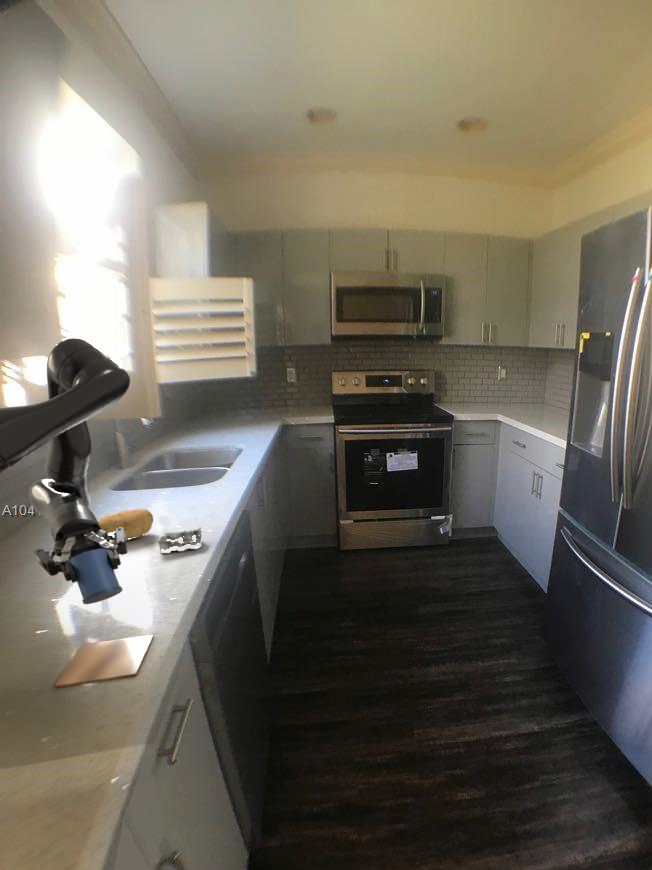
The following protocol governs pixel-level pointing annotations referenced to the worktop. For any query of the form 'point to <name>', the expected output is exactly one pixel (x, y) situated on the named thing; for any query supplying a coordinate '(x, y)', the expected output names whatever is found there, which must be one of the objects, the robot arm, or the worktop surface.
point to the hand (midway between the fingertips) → (94, 570)
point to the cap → (95, 576)
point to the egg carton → (186, 539)
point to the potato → (128, 522)
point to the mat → (106, 661)
